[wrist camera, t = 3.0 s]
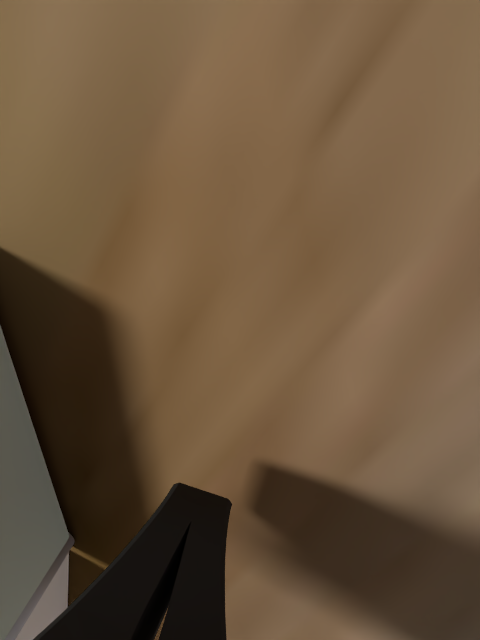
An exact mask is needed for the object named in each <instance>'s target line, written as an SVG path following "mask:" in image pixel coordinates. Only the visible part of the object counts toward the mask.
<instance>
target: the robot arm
mask: <svg viewBox="0 0 480 640" xmlns="http://www.w3.org/2000/svg"><path fill="white" fill-rule="evenodd" d="M231 506H232V503H231V502H230V500H229V499H227V498H224V497H221V496H218V495H215V494H212V493H209V492H206V491H203V490H200V489H197V488H194V487H191V486H188V485H185V484H182V483H177V484H174V485H173V487H172V488H171V490H170V491H169V493H168V495H167V496H166V497H165V499H164V500H163V502H162V503H161V505H160V506H159V507H158V509H157V510H156V511H155V513H154V514H153V515H152V516H151V518H150V519H149V520H148V521H147V523H146V524H145V525H144V526H143V528H142V529H141V530H140V531H139V532H138V534H137V535H136V536H135V537H134V538H133V539H132V540H131V542H130V543H129V544H128V545H127V546H126V547H125V548H124V550H123V551H122V552H121V553H120V554H119V555H118V556H117V558H116V559H115V560H114V561H113V562H112V563H111V564H110V565H109V566H108V567H107V568H106V569H105V570H104V571H103V572H102V573H101V574H100V576H99V577H98V578H97V579H96V580H95V581H94V582H93V583H92V584H91V585H90V586H89V587H88V588H87V589H86V590H85V591H84V592H83V593H82V594H81V595H80V596H79V597H78V598H77V599H76V600H75V601H74V602H73V603H72V604H71V605H70V606H69V607H68V608H67V609H66V610H64V611H63V612H62V613H61V614H60V615H59V616H58V617H57V618H56V619H55V620H54V621H53V622H52V623H50V624H49V625H48V626H47V627H46V628H45V629H44V630H43V631H42V632H41V633H39V634H38V635H37V636H36V637H35V638H34V639H33V640H154V638H155V636H156V633H157V631H158V629H159V627H160V624H161V622H162V620H163V617H164V615H165V613H166V610H167V608H168V610H167V614H166V617H165V621H164V624H163V627H162V630H161V634H160V637H159V640H226V622H225V553H226V538H227V528H228V521H229V515H230V510H231ZM168 606H169V607H168Z"/></svg>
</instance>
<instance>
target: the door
mask: <svg viewBox="0 0 480 640" xmlns="http://www.w3.org/2000/svg"><path fill="white" fill-rule="evenodd" d="M73 545H74V538H73V536H72V535H71V534H70V533H69V532H68V530H67V527H66V524H65V521H64V518H63V515H62V512H61V509H60V506H59V503H58V500H57V497H56V494H55V491H54V488H53V485H52V482H51V479H50V476H49V472H48V469H47V466H46V463H45V460H44V457H43V454H42V451H41V448H40V445H39V442H38V439H37V436H36V433H35V430H34V427H33V424H32V421H31V418H30V415H29V411H28V408H27V405H26V402H25V399H24V396H23V393H22V390H21V387H20V384H19V381H18V378H17V375H16V372H15V369H14V366H13V363H12V360H11V357H10V353H9V350H8V347H7V344H6V341H5V338H4V335H3V332H2V329H1V326H0V640H15V639H16V637H17V636H18V634H19V633H20V631H21V629H22V628H23V626H24V624H25V623H26V621H27V620H28V618H29V616H30V615H31V613H32V611H33V610H34V608H35V606H36V605H37V603H38V602H39V600H40V598H41V597H42V595H43V593H44V592H45V590H46V589H47V587H48V585H49V584H50V582H51V580H52V579H53V577H54V575H55V574H56V572H57V571H58V569H59V567H60V566H61V564H62V562H63V561H64V559H65V558H66V556H67V554H68V553H69V551H70V549H71V548H72V546H73Z"/></svg>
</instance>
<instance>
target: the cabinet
mask: <svg viewBox="0 0 480 640" xmlns="http://www.w3.org/2000/svg"><path fill="white" fill-rule="evenodd" d="M68 571H69V553H68V554H67V556H66V558H65V559H64V561H63V562H62V564H61V566H60V567H59V569H58V571H57V572H56V574H55V575H54V577H53V579H52V580H51V582H50V584H49V585H48V587H47V589H46V590H45V592H44V593H43V595H42V597H41V598H40V600H39V602H38V603H37V605H36V606H35V608H34V610H33V611H32V613H31V615H30V616H29V618H28V620H27V621H26V623H25V624H24V626H23V628H22V629H21V631H20V633H19V634H18V636H17V637H16V639H15V640H33V639H34V638H35V637H36V636H37V635H38V634H39V633H41V632H42V631H43V630H44V629H45V628H46V627H47V626H48V625H49V624H50V623H52V622H53V621H54V620H55V619H56V618H57V617H58V616H59V615H60V614H61V613H62V612H63V611H64V610H66V609H67V608H68Z"/></svg>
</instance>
